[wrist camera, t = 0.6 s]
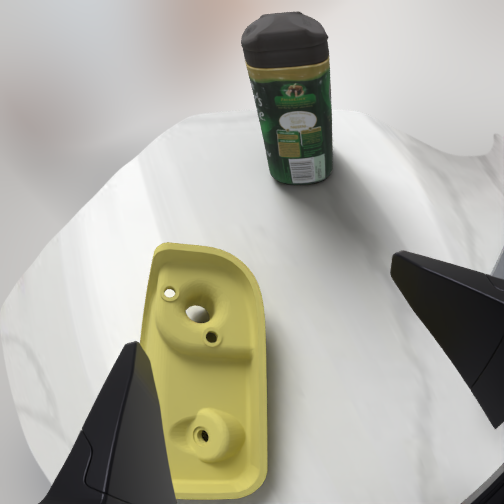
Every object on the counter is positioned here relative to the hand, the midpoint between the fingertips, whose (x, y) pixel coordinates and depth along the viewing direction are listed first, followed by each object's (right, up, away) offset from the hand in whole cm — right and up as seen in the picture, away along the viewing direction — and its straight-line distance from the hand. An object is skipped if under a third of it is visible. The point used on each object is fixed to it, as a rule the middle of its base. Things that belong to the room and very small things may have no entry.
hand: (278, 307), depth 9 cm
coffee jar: (+5, +13, +26) cm, 30 cm away
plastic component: (-5, -10, +15) cm, 18 cm away
